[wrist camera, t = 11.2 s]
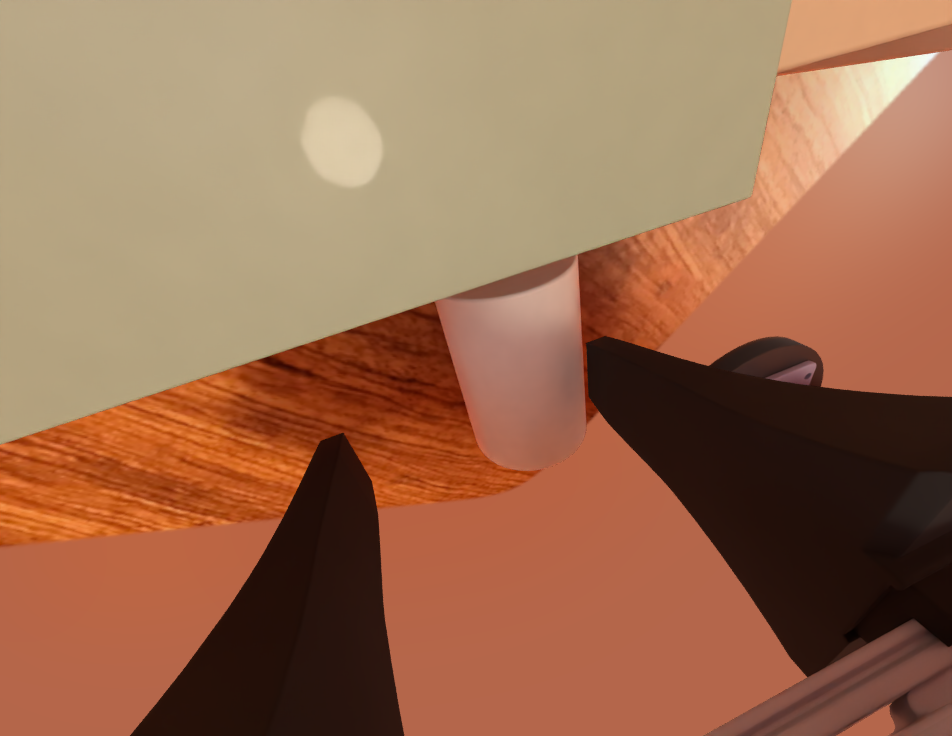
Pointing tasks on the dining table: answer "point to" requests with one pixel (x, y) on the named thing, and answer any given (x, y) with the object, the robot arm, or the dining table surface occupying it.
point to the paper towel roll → (521, 364)
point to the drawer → (862, 32)
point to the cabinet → (334, 166)
